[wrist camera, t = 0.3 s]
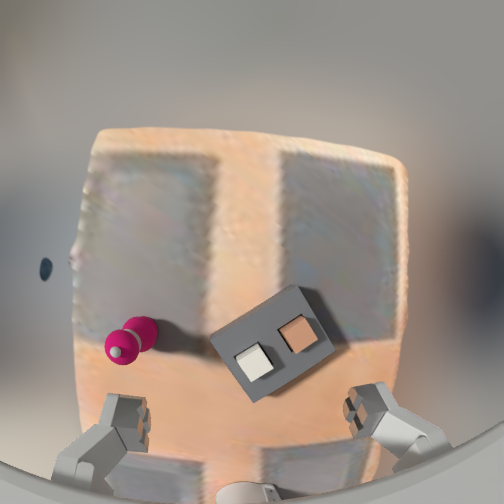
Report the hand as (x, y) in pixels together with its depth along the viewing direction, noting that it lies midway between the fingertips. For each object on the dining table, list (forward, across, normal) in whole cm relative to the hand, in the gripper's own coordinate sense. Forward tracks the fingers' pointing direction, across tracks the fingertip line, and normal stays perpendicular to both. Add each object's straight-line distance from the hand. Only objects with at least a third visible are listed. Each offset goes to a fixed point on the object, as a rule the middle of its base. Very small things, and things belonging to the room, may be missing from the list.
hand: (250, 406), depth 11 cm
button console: (+42, +11, -32) cm, 54 cm away
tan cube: (+40, +15, -28) cm, 51 cm away
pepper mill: (+44, -16, -31) cm, 56 cm away
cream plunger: (+38, +6, -33) cm, 50 cm away
